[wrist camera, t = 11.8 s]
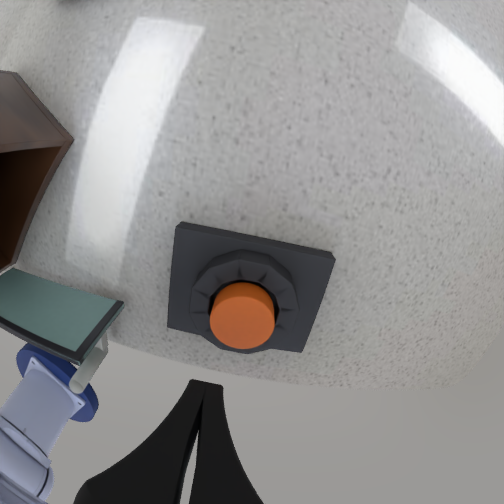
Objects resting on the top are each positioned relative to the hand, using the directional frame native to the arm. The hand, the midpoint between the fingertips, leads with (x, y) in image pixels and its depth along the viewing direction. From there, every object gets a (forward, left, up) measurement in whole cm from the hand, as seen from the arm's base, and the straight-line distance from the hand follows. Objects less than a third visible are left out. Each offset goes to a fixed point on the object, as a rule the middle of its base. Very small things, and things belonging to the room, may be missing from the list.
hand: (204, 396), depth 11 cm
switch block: (+1, -1, -9) cm, 9 cm away
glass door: (-11, +9, -8) cm, 16 cm away
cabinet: (-7, +21, -9) cm, 24 cm away
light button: (+1, 0, -7) cm, 7 cm away
